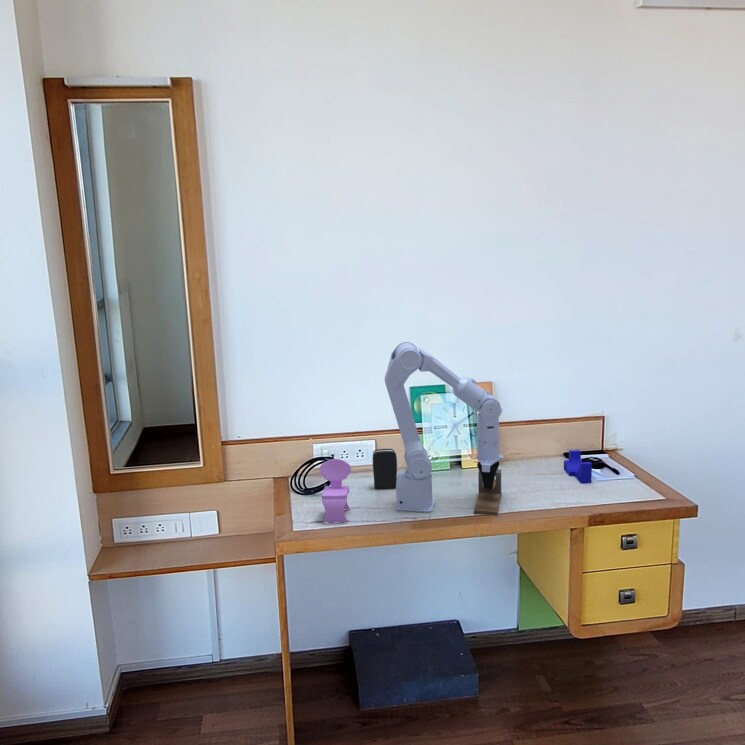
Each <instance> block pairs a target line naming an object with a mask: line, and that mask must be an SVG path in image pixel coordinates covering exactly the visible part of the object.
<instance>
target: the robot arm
mask: <svg viewBox="0 0 745 745" xmlns="http://www.w3.org/2000/svg"><path fill="white" fill-rule="evenodd" d="M418 349H419V350H418ZM389 358H390V359H389V362H388V366H387V369H386V372H385V375H384V383H385V387H386V389H387V393H388V396H389V400H390V403H391V406H392V409H393V413H394V415H395V419H396V422H397V426H398V430H399V432H400V436H401V439H402V442H403V445H404V451H405V452H404V461H405V463H406V466H407V467H406V469H405V471H404V472H403V473H402V472H401V473H397V480H396V488H395V493H396V494H395V495H396V508H395V510H396V511H406V512H407V511H408V512H410V511H411V512H421V513H423V512H425V513H426V512H427V513H432V511H433V509H434V507H435V504H436V502H437V500H436V499H435V498H433V473H432V468H433V465H432V462H431V460H430V459H429V454H428V452H427V450H426V448H425V447H423V444H422V441H421V438H420V436H419V432H418V428H417V425H416V422H415V418H414V416H413V412H412V408H411V405H410V402H409V399H408V395H407V391H406V388H405V383H406V382H407V380H408V379H409V377H410V376H411V375H413V374H414V373H415V372H416V371H418V370H419V372H423V373H424V372H430V373H431V374H433V375H434V376H436V378H439V379H440V380H441V381H443V382H444V383H446V384H447V385H448V386H450V387H451V388H452V391H453V395H454V396H455V397H457V399H459V400H460V401H462V402H463V403H464V404H466V405H467V406H468V407H470V408H471V409H472V410H473V409H474V410H475V411H476V412H477V422H476V424H477V425H476V426H477V427H476V430H477V432H476V433H477V435H476V438H477V440H476V441H477V442H476V443H477V445H476V446H477V447H476V448H477V452H476V453H477V454H476V460H478V461H477V464H476V466H477V469H478V472H479V471H480V473H481V476H482V480H483V486H484V489H492V488H493V484H494V478H495V473H496V471H497V469H499V466H500V461H504V459H505V458H504V455H503V454H500V419H499V418H500V416H501V415H502V412H503V409H502V406H501V403H500V402H499V400H497V399H496V397H495V396H494V395H493V393H490V391H489V390H488V389H486V390H485V389H484V388H482V387H481V386H480V385H478V384H477V381H476V380H475V379H474V378H473V377H471V378H469V377H468V376H465V377H464V376H463V377H459V376H458V375H457V374H455V372H454V371H452V370H451V369H449V368H448V366H446V365H445V364H443V363H442V362H441V361H439V360H438V358H436V357H435V356H433V354H431V353H430V352H428V351H426V350H424V349H423V348H421V347H418V348H417V346H416V345H415V344H414V343H412V342H410V341H403V342H402V341H401V342H400V343H399V344H397V346H396V347H395V348H394V349H393V351H392V352H391V354H390V357H389Z"/></svg>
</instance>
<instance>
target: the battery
mask: <svg viewBox="0 0 745 745" xmlns="http://www.w3.org/2000/svg"><path fill="white" fill-rule="evenodd" d="M372 474H373V488H374V489H375V490H386V489H387V490H389V489H390V490H392V489H396V480H397V476H398V457H397V453H396V451H395V449H393V448H378V449H374V450H373V452H372Z"/></svg>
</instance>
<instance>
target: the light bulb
mask: <svg viewBox="0 0 745 745" xmlns="http://www.w3.org/2000/svg"><path fill="white" fill-rule="evenodd" d="M495 486H496V481H495V478H494V484H493V488H492V489H484V486H483V482H482V487H483V489H484V490H485V491H488V492H490V491H493V490H494V489H495Z"/></svg>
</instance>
